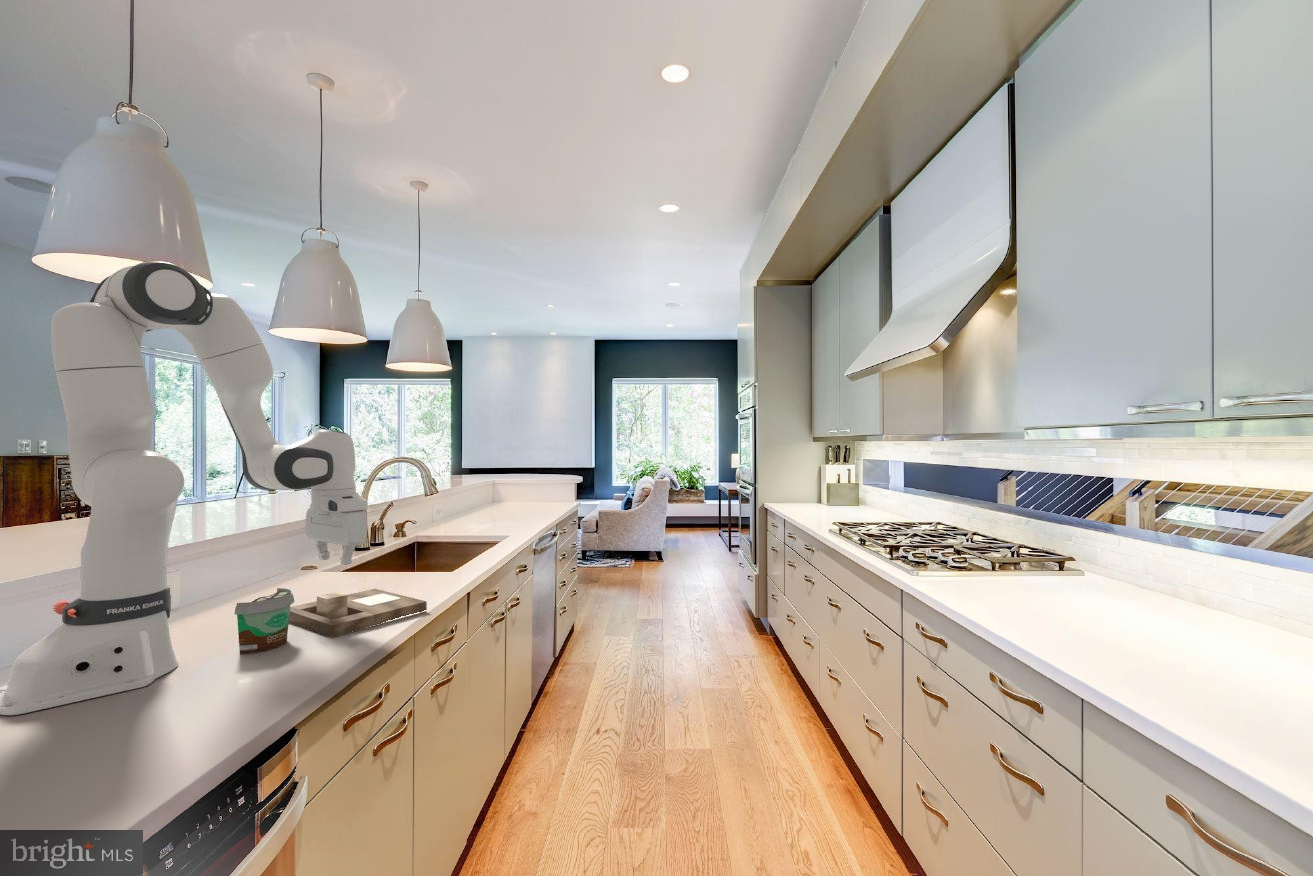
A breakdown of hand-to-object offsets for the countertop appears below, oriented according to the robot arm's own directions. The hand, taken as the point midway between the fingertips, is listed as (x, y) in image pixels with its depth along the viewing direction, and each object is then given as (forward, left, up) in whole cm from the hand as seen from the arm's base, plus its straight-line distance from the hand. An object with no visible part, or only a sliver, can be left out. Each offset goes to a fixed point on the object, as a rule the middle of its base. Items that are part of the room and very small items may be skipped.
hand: (334, 561), depth 129 cm
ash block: (-1, 0, -14) cm, 13 cm away
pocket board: (+5, 0, -13) cm, 14 cm away
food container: (-15, -6, -14) cm, 21 cm away
